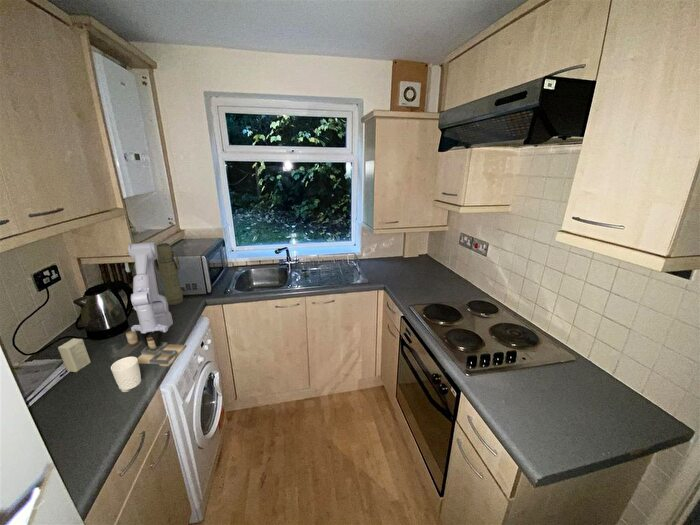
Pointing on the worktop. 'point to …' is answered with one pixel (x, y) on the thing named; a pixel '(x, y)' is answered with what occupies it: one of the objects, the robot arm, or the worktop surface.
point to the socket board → (161, 354)
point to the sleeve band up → (151, 343)
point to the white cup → (126, 373)
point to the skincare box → (74, 354)
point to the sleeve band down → (132, 338)
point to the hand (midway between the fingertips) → (153, 345)
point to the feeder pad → (126, 350)
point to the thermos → (169, 273)
